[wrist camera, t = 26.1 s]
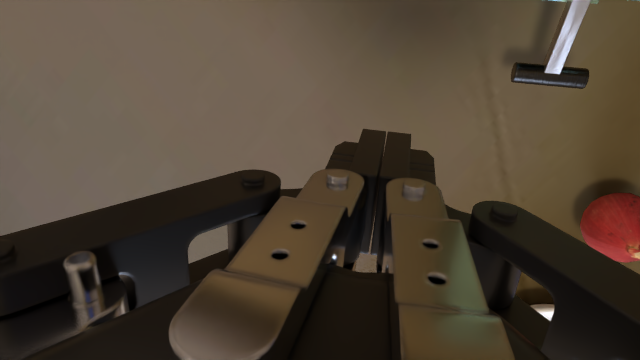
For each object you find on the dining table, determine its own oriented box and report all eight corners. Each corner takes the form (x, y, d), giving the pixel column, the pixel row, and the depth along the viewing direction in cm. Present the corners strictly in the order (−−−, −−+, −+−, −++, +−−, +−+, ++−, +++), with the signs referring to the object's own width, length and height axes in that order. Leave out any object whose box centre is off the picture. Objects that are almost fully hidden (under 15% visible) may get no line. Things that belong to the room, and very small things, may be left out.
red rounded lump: (617, 166, 42) (658, 207, 35) (653, 211, 43) (700, 260, 36) (557, 202, 44) (584, 248, 37) (593, 244, 45) (626, 297, 38)
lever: (578, 77, 36) (584, 96, 34) (509, 71, 36) (511, 90, 35) (647, -74, 28) (659, -58, 26) (557, -78, 28) (563, -63, 27)
